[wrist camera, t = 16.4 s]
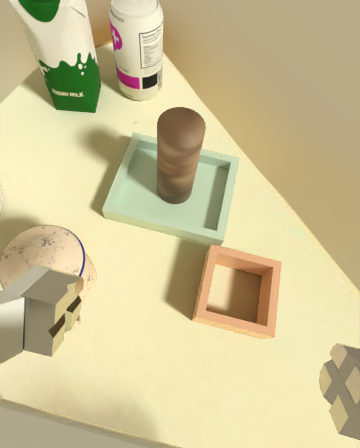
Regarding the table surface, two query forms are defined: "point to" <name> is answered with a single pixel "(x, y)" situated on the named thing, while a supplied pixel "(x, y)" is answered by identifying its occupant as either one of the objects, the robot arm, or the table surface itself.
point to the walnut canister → (178, 153)
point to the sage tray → (165, 212)
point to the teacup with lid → (48, 257)
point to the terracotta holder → (266, 298)
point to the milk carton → (63, 50)
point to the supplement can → (137, 46)
